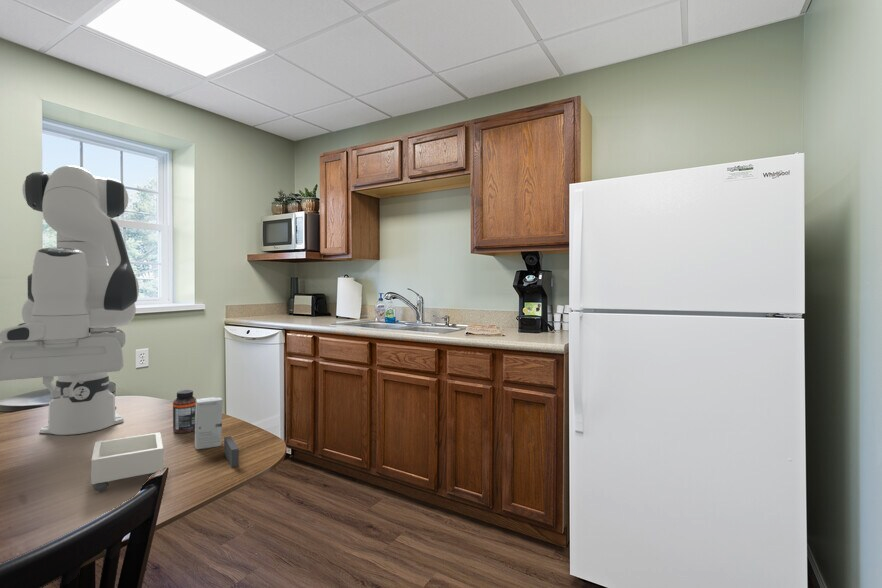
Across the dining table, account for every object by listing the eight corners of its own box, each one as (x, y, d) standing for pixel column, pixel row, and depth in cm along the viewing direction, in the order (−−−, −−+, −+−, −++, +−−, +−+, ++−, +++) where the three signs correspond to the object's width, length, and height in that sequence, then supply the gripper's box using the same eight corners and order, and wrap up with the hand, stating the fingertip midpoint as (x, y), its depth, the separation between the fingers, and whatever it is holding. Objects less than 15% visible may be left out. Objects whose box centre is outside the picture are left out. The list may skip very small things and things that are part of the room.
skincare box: (195, 450, 113) (195, 402, 113) (194, 444, 117) (194, 398, 117) (222, 445, 117) (222, 399, 116) (220, 440, 120) (220, 395, 120)
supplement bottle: (176, 427, 130) (176, 389, 130) (199, 426, 131) (199, 388, 131) (169, 434, 124) (169, 394, 124) (193, 433, 126) (193, 393, 125)
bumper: (224, 453, 112) (224, 437, 112) (230, 452, 113) (230, 436, 112) (231, 467, 104) (231, 450, 103) (238, 465, 104) (238, 448, 104)
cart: (95, 474, 98) (95, 441, 98) (160, 462, 105) (160, 432, 105) (91, 496, 88) (91, 460, 88) (163, 481, 95) (163, 448, 95)
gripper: (125, 325, 98) (125, 388, 98) (-5, 329, 86) (-4, 400, 87) (125, 328, 93) (125, 394, 93) (-14, 333, 81) (-13, 408, 82)
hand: (62, 397), depth 90 cm, fingers closed
